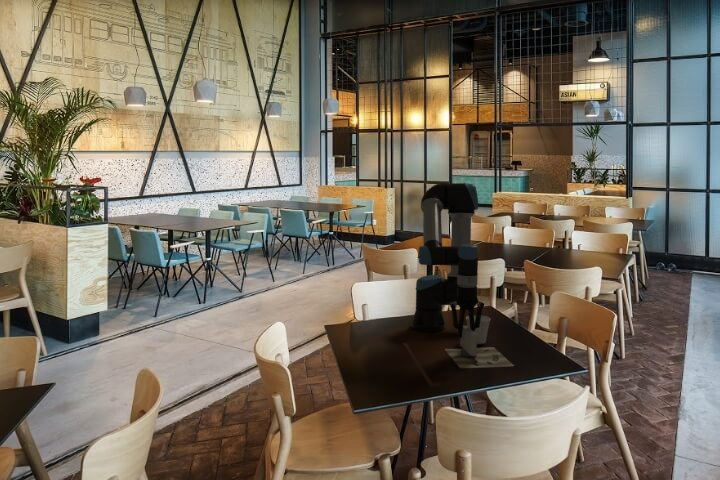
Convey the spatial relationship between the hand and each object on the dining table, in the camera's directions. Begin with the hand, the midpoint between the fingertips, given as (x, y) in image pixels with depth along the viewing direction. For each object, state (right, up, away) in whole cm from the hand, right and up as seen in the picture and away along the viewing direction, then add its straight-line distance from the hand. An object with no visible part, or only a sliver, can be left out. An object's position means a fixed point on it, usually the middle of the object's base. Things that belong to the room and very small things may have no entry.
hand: (465, 345), depth 227 cm
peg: (+1, -3, -5) cm, 6 cm away
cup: (+7, -2, +15) cm, 17 cm away
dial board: (+4, -5, -5) cm, 7 cm away
